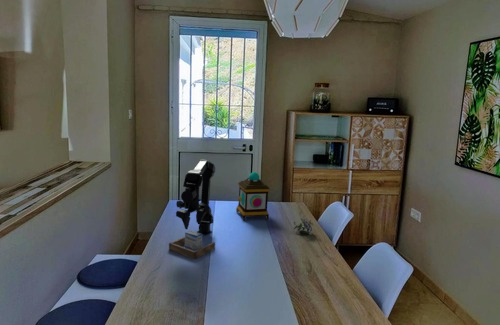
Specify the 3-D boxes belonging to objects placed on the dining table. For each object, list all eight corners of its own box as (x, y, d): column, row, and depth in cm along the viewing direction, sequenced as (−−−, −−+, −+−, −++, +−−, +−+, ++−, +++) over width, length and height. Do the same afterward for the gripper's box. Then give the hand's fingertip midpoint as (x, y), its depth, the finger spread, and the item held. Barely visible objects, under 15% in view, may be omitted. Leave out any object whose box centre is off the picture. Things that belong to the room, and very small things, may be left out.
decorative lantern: (233, 211, 247) (235, 168, 242) (261, 210, 253) (263, 168, 248) (241, 221, 229) (244, 175, 223) (271, 220, 234) (274, 174, 229)
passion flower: (308, 243, 214) (314, 232, 206) (290, 239, 214) (296, 227, 205) (309, 227, 222) (315, 216, 214) (292, 223, 222) (297, 212, 213)
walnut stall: (189, 240, 195) (190, 234, 195) (214, 248, 186) (215, 242, 186) (169, 249, 182) (169, 243, 182) (194, 259, 173) (194, 252, 173)
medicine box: (184, 248, 185) (184, 232, 183) (189, 245, 189) (190, 229, 187) (196, 252, 181) (197, 236, 180) (202, 249, 185) (202, 233, 184)
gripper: (193, 190, 192) (193, 218, 195) (167, 197, 176) (167, 227, 179) (210, 194, 186) (209, 223, 189) (184, 202, 171) (184, 233, 174)
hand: (192, 226), depth 183 cm, fingers open, 9 cm apart
